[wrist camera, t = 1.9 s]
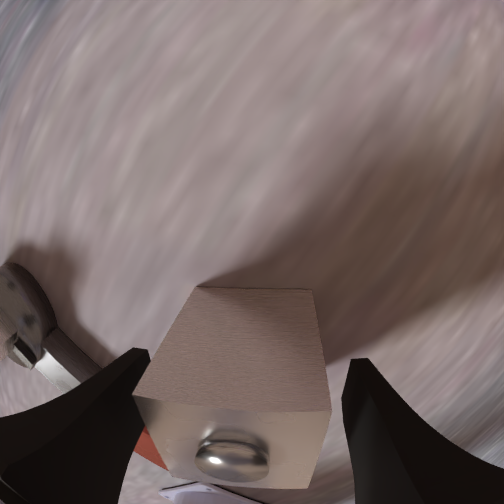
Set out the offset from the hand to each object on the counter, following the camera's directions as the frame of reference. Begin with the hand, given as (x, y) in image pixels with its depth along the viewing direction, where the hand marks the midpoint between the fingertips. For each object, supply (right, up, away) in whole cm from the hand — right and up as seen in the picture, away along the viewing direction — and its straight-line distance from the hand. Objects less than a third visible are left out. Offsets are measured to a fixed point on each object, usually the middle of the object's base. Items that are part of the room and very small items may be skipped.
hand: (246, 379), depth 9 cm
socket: (0, +1, +3) cm, 3 cm away
